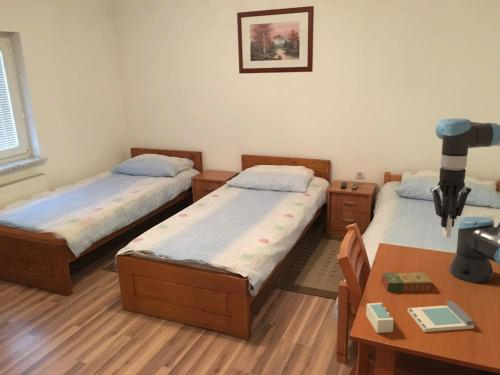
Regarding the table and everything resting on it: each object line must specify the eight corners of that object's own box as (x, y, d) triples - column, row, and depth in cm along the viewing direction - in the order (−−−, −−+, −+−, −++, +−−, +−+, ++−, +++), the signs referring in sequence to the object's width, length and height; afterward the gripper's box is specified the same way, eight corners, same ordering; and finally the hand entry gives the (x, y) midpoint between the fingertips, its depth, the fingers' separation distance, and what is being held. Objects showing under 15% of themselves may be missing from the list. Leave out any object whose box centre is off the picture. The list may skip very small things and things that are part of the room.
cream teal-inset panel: (453, 308, 145) (454, 300, 145) (473, 328, 134) (474, 320, 133) (407, 311, 144) (408, 303, 144) (424, 332, 133) (425, 324, 132)
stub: (380, 314, 143) (381, 302, 141) (392, 331, 133) (393, 318, 132) (366, 315, 142) (366, 303, 141) (377, 333, 133) (377, 320, 131)
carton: (431, 292, 157) (432, 281, 156) (387, 292, 157) (388, 282, 156) (422, 281, 165) (423, 271, 164) (381, 282, 165) (381, 272, 164)
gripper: (465, 164, 142) (458, 230, 148) (427, 165, 141) (422, 233, 147) (479, 169, 134) (471, 239, 141) (439, 170, 134) (433, 241, 140)
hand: (446, 235), depth 144 cm, fingers closed
